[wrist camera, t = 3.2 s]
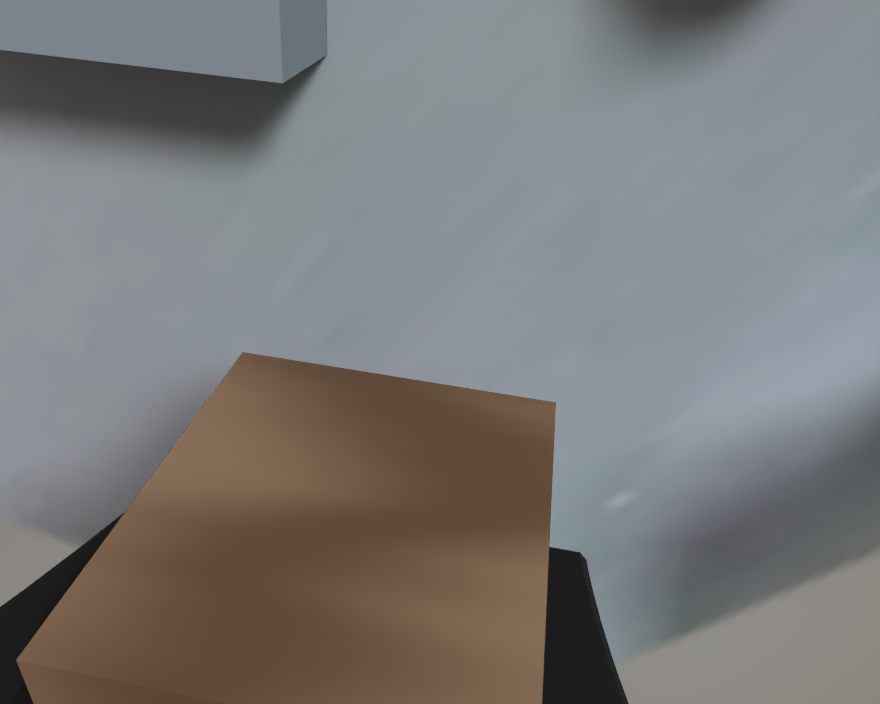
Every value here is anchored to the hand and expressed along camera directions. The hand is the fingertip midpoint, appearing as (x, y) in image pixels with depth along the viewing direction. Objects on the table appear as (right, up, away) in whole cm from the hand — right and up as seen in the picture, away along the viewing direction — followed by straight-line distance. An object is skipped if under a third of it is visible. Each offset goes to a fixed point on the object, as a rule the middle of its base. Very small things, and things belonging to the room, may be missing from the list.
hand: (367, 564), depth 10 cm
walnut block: (0, +1, +1) cm, 1 cm away
